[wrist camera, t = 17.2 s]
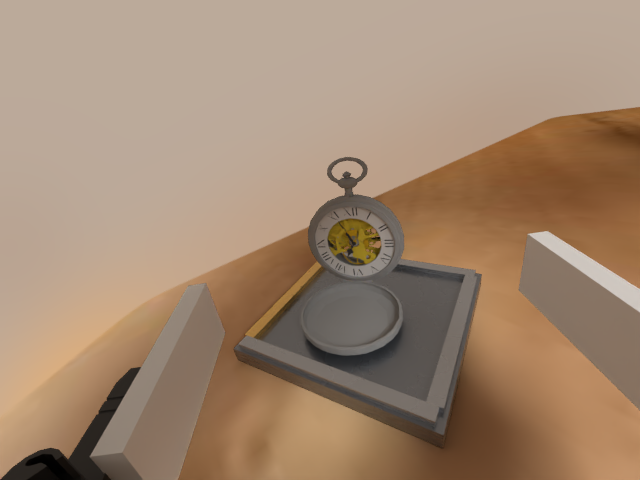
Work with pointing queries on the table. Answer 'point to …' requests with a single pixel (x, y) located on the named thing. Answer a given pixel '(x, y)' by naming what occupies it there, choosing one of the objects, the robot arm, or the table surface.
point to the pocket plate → (386, 362)
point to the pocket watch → (353, 272)
